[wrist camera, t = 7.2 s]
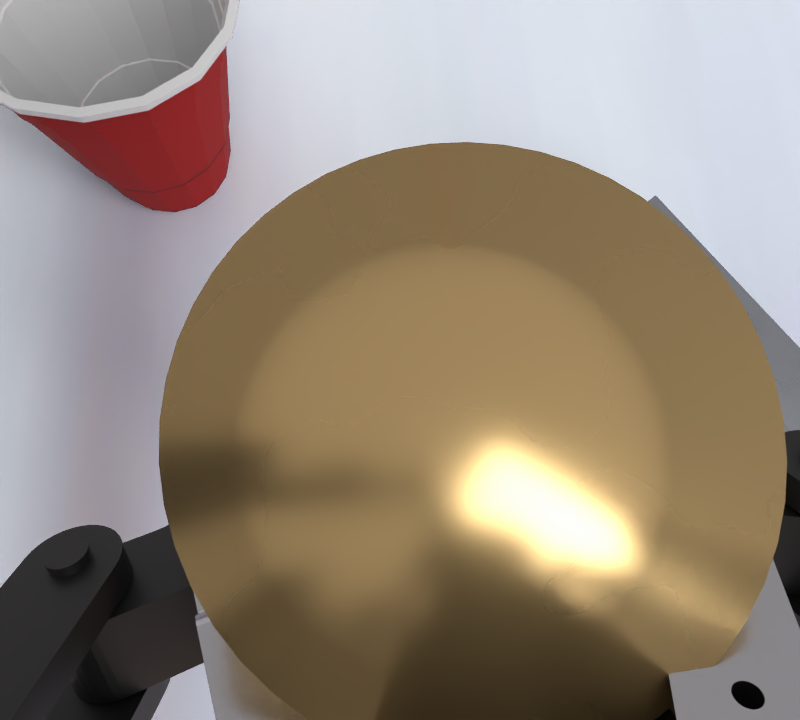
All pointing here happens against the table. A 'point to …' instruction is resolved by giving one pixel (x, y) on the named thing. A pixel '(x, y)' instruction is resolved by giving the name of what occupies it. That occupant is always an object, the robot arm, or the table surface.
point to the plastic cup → (126, 89)
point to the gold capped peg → (471, 444)
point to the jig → (763, 339)
